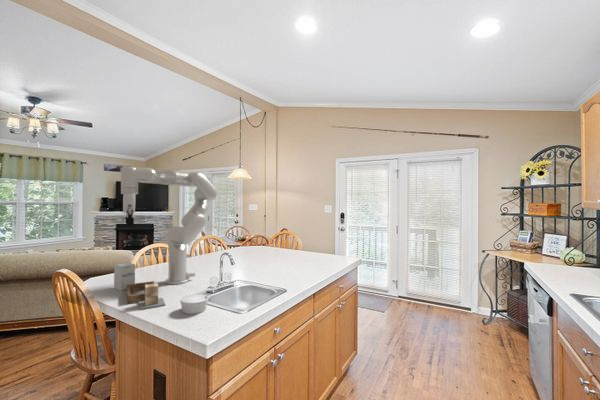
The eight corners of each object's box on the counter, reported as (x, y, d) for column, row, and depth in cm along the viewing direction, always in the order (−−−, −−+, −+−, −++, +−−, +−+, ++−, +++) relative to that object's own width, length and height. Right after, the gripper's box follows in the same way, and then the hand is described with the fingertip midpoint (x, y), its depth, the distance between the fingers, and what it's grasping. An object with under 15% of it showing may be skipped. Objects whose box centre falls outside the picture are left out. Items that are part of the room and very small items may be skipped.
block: (157, 300, 134) (157, 283, 134) (158, 303, 130) (158, 285, 130) (144, 302, 132) (144, 284, 131) (145, 305, 127) (145, 287, 127)
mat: (162, 298, 138) (162, 297, 138) (165, 305, 129) (165, 304, 129) (138, 302, 132) (138, 301, 132) (139, 310, 124) (139, 308, 124)
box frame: (153, 287, 155) (153, 281, 155) (158, 299, 137) (158, 291, 137) (126, 291, 148) (126, 284, 148) (127, 304, 131) (127, 296, 131)
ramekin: (206, 314, 120) (206, 301, 120) (177, 316, 118) (178, 303, 118) (209, 304, 131) (209, 293, 131) (182, 306, 128) (182, 294, 128)
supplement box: (120, 290, 149) (120, 266, 149) (113, 288, 153) (113, 264, 153) (135, 287, 155) (135, 263, 155) (128, 284, 159) (128, 262, 159)
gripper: (120, 191, 152) (120, 224, 152) (121, 190, 137) (121, 226, 137) (137, 191, 156) (137, 223, 156) (139, 191, 141) (139, 226, 141)
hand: (129, 225), depth 147 cm, fingers open, 9 cm apart
